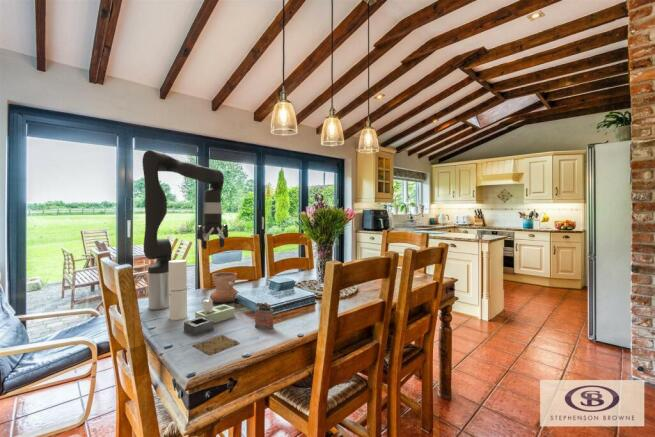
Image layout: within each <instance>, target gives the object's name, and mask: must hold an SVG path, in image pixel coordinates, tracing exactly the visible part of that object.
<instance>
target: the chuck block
mask: <svg viewBox="0 0 655 437" xmlns="http://www.w3.org/2000/svg"><path fill="white" fill-rule="evenodd" d="M214 324H215V323H214V321H213V320H210V319H208V318H206V317H199V318H196V319H195V318H192V319H189V320H185V321H183V331H184V332H186V333H188V334H190V335H192V336H194V337H196V336H199V335H202V334H204V333H207V332H210V331H214V328H215V326H214Z"/></svg>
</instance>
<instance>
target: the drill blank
mask: <svg viewBox="0 0 655 437" xmlns="http://www.w3.org/2000/svg"><path fill="white" fill-rule="evenodd" d="M213 302H214V301H213V300H212V299H210V298H207V299H204V300H203V304H202V305H203V310H204V314H205V315H207V314H210V313H213V307H214V306H213Z"/></svg>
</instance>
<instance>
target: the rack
mask: <svg viewBox="0 0 655 437" xmlns="http://www.w3.org/2000/svg"><path fill="white" fill-rule="evenodd" d="M235 309H236V308H235V307H233V306H230V305H227V304H226V303H223V304H219V305H216V306H213V313H210V314H207V315H205V314H204V309H202V310H198V311H196V312H195V314H194V315H195V318H194V319H196V318H199V317H206V318H208V319H210V320H213V321H214V324H215V323H219V322H223V321H225V320H229V319H232V318H234V317H236V316H235V313H236V312H235V311H236V310H235Z"/></svg>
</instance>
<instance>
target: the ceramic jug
mask: <svg viewBox="0 0 655 437" xmlns="http://www.w3.org/2000/svg"><path fill="white" fill-rule="evenodd" d="M211 277H212V282H213V284H214V287H215V289H214V290H212V292H210V295H209V299H212V300H213V302H214V303H218V304H227V303H231V302H233V301H235V295H236V294H237V293H239V294H240V292H239V291H238V289H236V288H234V285H235V283H236V280H237V272H229V271H228V272H227V271H225V272H224V271H223V272H222V271H221V272H216V273H213V274H212V276H211Z"/></svg>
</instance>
